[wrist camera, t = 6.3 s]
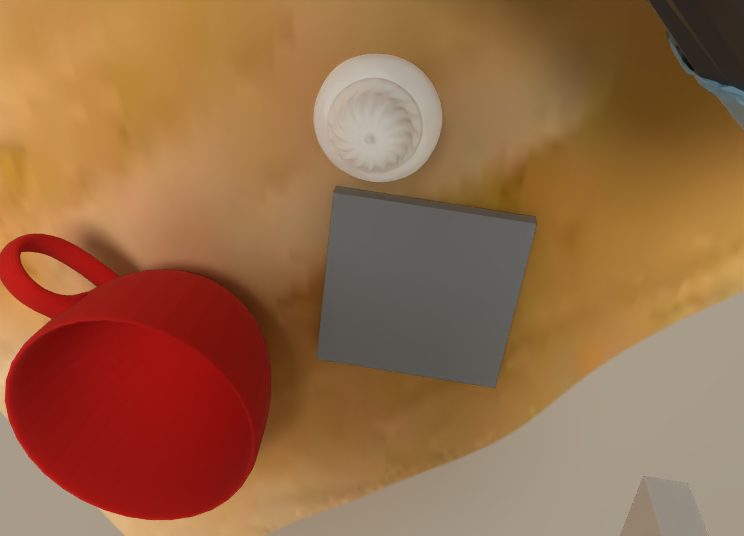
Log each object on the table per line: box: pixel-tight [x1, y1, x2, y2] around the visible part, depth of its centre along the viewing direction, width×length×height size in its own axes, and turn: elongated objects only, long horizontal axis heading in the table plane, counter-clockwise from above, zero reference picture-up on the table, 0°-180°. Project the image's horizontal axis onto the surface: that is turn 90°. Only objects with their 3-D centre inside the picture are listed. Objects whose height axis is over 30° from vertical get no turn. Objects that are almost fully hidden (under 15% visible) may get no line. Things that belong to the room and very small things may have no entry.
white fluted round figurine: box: [313, 54, 442, 182], centre depth 33 cm, size 6×6×7 cm
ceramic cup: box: [0, 234, 271, 520], centre depth 39 cm, size 13×17×10 cm
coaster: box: [317, 186, 537, 388], centre depth 41 cm, size 11×11×1 cm
